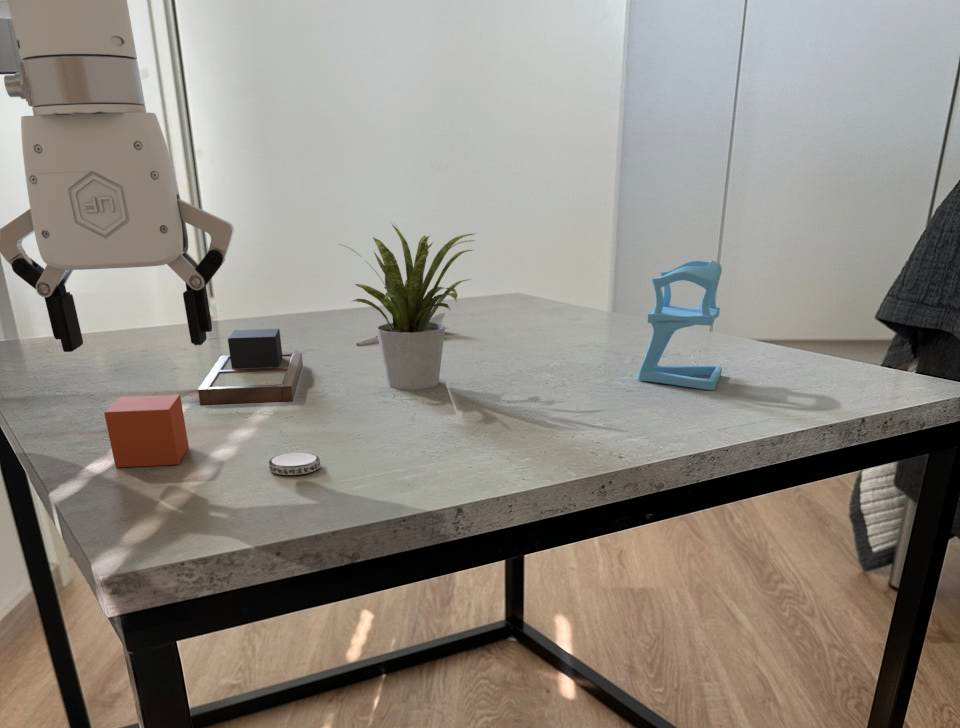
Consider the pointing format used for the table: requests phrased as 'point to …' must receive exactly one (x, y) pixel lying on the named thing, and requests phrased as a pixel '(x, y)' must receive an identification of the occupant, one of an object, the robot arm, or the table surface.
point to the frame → (251, 392)
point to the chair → (681, 325)
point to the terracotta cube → (147, 431)
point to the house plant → (411, 315)
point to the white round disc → (294, 463)
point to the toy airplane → (436, 319)
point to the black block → (255, 348)
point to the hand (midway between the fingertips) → (137, 345)
